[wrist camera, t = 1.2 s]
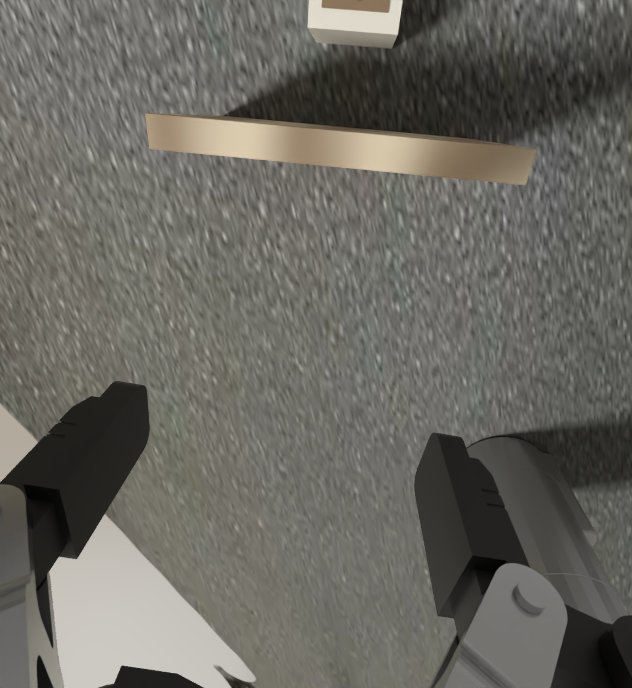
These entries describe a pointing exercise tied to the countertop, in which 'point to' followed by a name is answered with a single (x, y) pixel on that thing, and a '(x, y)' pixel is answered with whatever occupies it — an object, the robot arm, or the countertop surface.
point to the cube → (355, 22)
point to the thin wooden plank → (341, 147)
